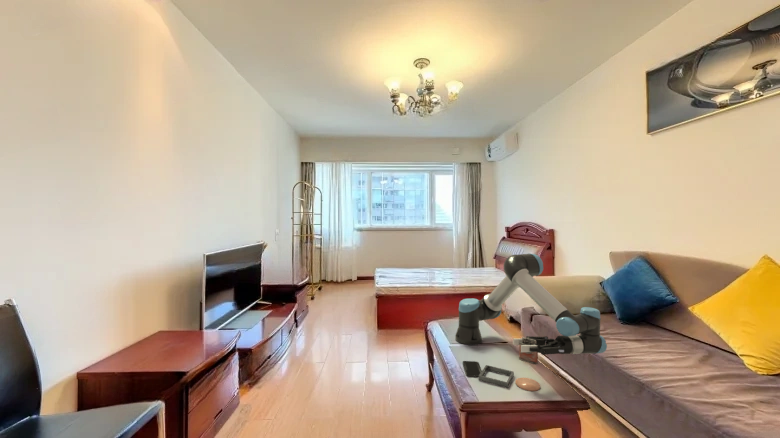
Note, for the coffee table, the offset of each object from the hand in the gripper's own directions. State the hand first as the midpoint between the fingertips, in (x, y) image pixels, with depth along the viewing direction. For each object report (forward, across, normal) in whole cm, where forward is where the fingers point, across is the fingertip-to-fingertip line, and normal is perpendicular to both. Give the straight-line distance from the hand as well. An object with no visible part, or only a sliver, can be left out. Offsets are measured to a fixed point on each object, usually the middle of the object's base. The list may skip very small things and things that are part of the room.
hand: (517, 345), depth 144 cm
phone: (+15, +15, -18) cm, 28 cm away
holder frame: (+6, +7, -17) cm, 20 cm away
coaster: (-5, 0, -17) cm, 18 cm away
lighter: (-5, 0, -7) cm, 9 cm away
